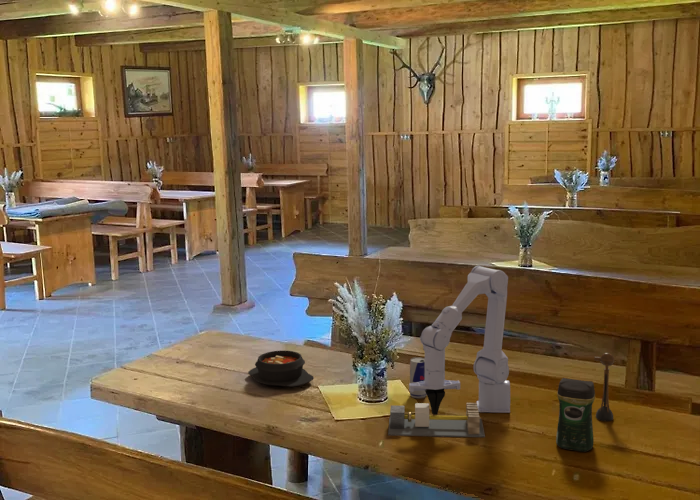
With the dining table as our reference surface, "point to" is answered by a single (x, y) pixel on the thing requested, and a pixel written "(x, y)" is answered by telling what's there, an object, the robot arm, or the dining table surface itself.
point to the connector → (398, 417)
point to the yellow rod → (441, 417)
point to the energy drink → (417, 375)
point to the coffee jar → (575, 415)
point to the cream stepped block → (421, 414)
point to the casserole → (280, 369)
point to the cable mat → (437, 429)
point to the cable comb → (472, 418)
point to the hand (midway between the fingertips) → (434, 413)
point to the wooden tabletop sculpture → (605, 388)
